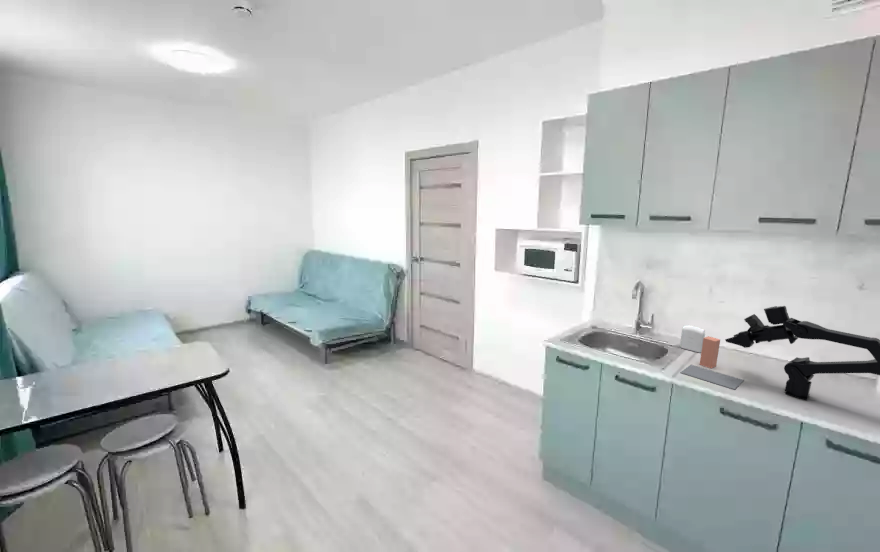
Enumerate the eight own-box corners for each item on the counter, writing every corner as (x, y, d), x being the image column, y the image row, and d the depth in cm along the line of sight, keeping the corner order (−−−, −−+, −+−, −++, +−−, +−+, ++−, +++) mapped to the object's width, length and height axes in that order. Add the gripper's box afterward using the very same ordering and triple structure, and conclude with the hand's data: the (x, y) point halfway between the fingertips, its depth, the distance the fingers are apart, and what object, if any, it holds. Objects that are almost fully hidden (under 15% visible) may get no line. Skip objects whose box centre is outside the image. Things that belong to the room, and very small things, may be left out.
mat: (743, 380, 168) (743, 379, 168) (734, 390, 160) (734, 389, 160) (690, 365, 183) (691, 364, 183) (680, 373, 175) (680, 372, 175)
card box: (716, 366, 182) (720, 339, 180) (711, 368, 180) (715, 341, 177) (704, 362, 186) (708, 336, 184) (699, 364, 184) (703, 337, 181)
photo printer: (678, 347, 204) (681, 324, 202) (681, 345, 207) (684, 323, 205) (700, 353, 197) (704, 330, 194) (703, 351, 199) (707, 328, 197)
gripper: (773, 310, 167) (731, 316, 180) (757, 317, 156) (714, 324, 169) (783, 336, 165) (740, 341, 178) (768, 345, 155) (723, 350, 167)
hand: (729, 338), depth 173 cm, fingers open, 9 cm apart
